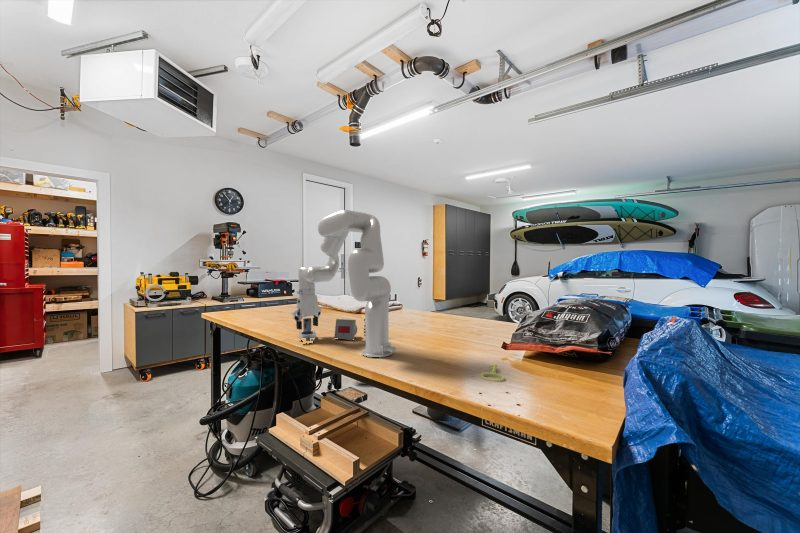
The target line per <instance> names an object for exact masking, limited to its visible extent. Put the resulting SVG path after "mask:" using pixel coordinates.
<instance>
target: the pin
mask: <svg viewBox="0 0 800 533" xmlns="http://www.w3.org/2000/svg"><path fill="white" fill-rule="evenodd" d="M311 330H312V318H311V317H303V318H302V331H303V334H311Z"/></svg>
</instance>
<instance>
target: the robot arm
mask: <svg viewBox="0 0 800 533" xmlns="http://www.w3.org/2000/svg"><path fill="white" fill-rule="evenodd" d="M317 225H318V226H317V231H318V234H319V235H320V236H322V237H324V238H323V239H322V242H321V244H320V250H321V252H322V253H324V254H325V255H326V256H328V258H329V259H328V261H327V264H326V265H324V266H310V267H309V266H308V267H304V266H303V267H300V268H299V269H298V290H297V291H296V294H298V296H297V298H296V309H294V310H293V311H292V312H291V316H292V318H293V319H294V321H295V322H296V323H295V324H296V325H295V326H296V330H299V331H302V330H303V319H304V318H308V317H311V316H312V326H313V327H314V326H315V327H319V318H320V316H321V314H322V310H323V308H322V307H320V306H319V302H318V296H317V294H316V283H326V282H330V281H331V280H333V278H334V277H335V276H336V274H337V272H338V271H339V268H340V256H339V252H340V251H341V249H342V247H343V245H344V243H345V241H346V238H347V237H348V235H349V233H351V232H352V233H362V234H361V236H360V241H359V242H360V248H358V249H355V250H353V251H352V252H351V253H350V254H349V256H348V260H347V271H348V279H349V287H350V292H351V295H352V298H354V299H355V301H358V302H360V303H362V302H366V304H365V310H364V312H365V314H364V315H365V316H364V317H365V318H364V319H365V321H364V322H365V323H364V325H365V327H364V328H365V330H364V331H365V333H364V335H365V336H364V338H365V348H363V349H362V350H361V355H362V354H363V355H364V357H366V356H367V357H366V358H372V357H379V358H386V357H389V356H392V354H394V353H395V352H396V350H397V347H396V346H392V342H390V341H389V340H390V338H389V336H390V335H389V332H390V330H389V327H390V326H389V325H390V324H389V323H390V322H389V319H390V318H389V316H390V315H389V310H390V309H389V308H390V307H389V305H390V297H391V292H392V289H391V283H390V281H389V279H387V278H386V277H385V276H382V275H372V276H370V274H374V273H375V274H376V273H379V272H381V271H382V270H383V268H384V266H385V262H384V260H385V259H384V252H383V251H384V250H383V245H382V244H383V243H382V238H381V224H380V221H379V220H378V218H377V217H376V216H374V215H372V214H370V213H366V212H361V211H357V210H356V211H355V210H349V209H342V210H338V211H337V212H336V211H335V212H333V213H331V214H329V215H327V216H324V217H323V218H322V219H321V220H320V221H319V223H318V224H317ZM363 355H362V356H363Z"/></svg>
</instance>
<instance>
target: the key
mask: <svg viewBox="0 0 800 533" xmlns="http://www.w3.org/2000/svg"><path fill="white" fill-rule="evenodd" d="M497 367H498V365H497V363H494V364H488V368H492V370H491V371H490V372H482V373H481V374H480V379H481V380H483V381H487V382H495V383H497V382H498V383H499V382H500V383H501V382H504V381H505V376H504V374H500V373H497ZM489 377H491V378H489ZM494 378H495V379H494ZM496 378H497V379H496Z"/></svg>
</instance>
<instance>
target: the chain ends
mask: <svg viewBox="0 0 800 533" xmlns="http://www.w3.org/2000/svg"><path fill="white" fill-rule="evenodd" d="M316 336H317V333H316V330H312V331H311V334H303V332H302V331H298V340H299V339H301V338H306V341H310V338H316ZM316 339H317V338H316ZM311 341H314V342H315V340H313V339H311Z"/></svg>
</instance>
